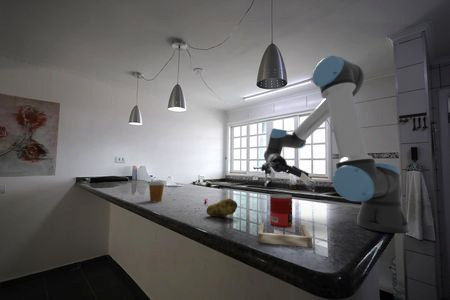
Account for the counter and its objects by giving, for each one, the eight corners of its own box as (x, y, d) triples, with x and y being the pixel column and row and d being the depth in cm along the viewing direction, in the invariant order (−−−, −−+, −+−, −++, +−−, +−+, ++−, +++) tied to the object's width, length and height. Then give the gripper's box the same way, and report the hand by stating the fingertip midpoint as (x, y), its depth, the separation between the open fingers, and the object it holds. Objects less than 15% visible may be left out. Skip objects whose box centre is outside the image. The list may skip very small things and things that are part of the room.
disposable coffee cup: (147, 200, 128) (148, 180, 129) (163, 199, 131) (164, 180, 132) (147, 202, 119) (148, 181, 120) (164, 202, 122) (165, 181, 123)
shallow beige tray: (304, 232, 68) (304, 225, 69) (312, 247, 56) (311, 238, 56) (260, 229, 72) (260, 221, 72) (258, 242, 59) (258, 233, 59)
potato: (216, 213, 95) (216, 195, 95) (240, 218, 87) (240, 198, 88) (203, 216, 88) (204, 197, 89) (228, 222, 80) (228, 201, 81)
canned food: (293, 228, 73) (293, 197, 74) (270, 227, 74) (270, 196, 75) (291, 223, 80) (290, 194, 81) (270, 221, 82) (270, 193, 83)
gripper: (299, 174, 102) (319, 192, 81) (250, 165, 101) (257, 182, 80) (303, 160, 100) (324, 175, 79) (253, 150, 99) (261, 163, 78)
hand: (290, 178), depth 80 cm, fingers open, 13 cm apart
